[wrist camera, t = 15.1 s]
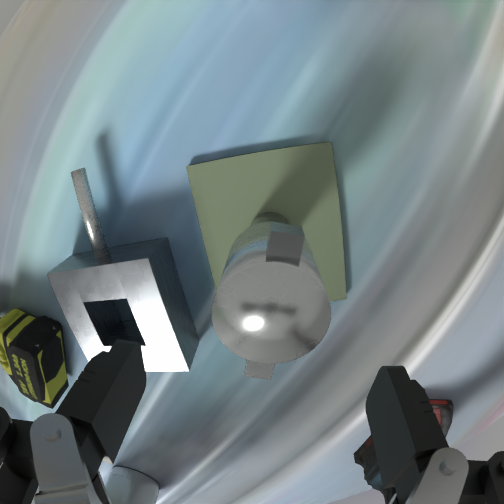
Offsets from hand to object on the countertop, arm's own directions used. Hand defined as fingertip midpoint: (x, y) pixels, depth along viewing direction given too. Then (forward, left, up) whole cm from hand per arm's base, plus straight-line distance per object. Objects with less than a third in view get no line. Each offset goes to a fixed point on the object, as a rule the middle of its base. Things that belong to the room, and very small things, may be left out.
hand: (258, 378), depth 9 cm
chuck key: (0, 0, -14) cm, 14 cm away
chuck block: (-1, +13, -14) cm, 19 cm away
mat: (0, 0, -14) cm, 14 cm away
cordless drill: (-11, +39, -15) cm, 43 cm away
